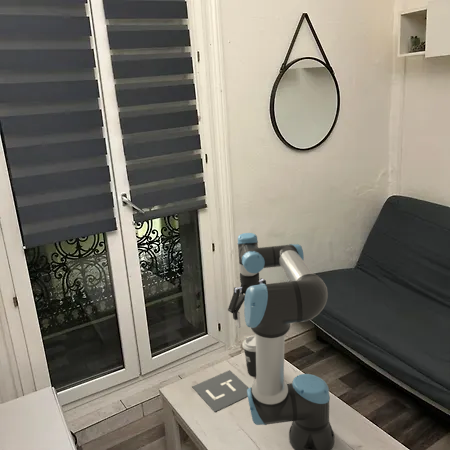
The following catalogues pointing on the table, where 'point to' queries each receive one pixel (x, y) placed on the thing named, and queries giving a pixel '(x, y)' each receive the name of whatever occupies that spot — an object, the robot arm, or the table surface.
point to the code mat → (222, 390)
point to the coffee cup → (250, 354)
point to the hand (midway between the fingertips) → (252, 320)
